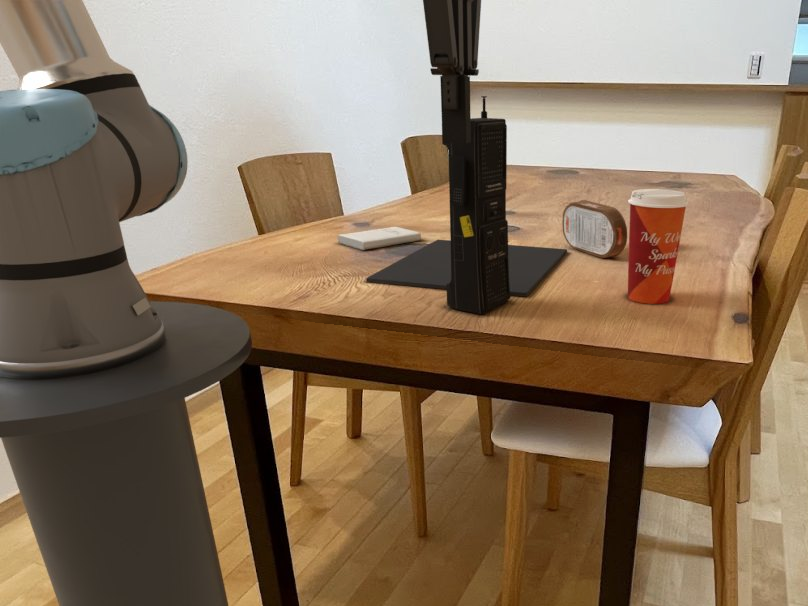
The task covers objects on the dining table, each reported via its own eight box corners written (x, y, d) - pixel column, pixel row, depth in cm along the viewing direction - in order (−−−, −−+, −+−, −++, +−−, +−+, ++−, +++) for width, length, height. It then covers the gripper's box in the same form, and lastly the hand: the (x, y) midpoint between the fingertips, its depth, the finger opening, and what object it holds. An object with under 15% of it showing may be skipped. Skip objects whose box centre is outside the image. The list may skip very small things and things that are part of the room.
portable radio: (480, 318, 81) (479, 97, 71) (440, 310, 84) (434, 96, 74) (512, 302, 87) (516, 97, 77) (474, 295, 90) (472, 95, 80)
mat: (366, 282, 96) (365, 278, 95) (437, 242, 120) (437, 239, 120) (526, 297, 90) (526, 292, 89) (567, 252, 114) (567, 249, 114)
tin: (626, 261, 109) (631, 209, 106) (612, 263, 108) (616, 210, 104) (572, 243, 121) (574, 196, 117) (558, 245, 119) (560, 197, 116)
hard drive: (338, 243, 119) (394, 234, 127) (363, 251, 113) (421, 240, 121) (337, 234, 118) (394, 225, 126) (363, 241, 113) (420, 231, 121)
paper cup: (639, 308, 86) (650, 198, 80) (609, 292, 92) (617, 189, 86) (689, 302, 88) (703, 195, 83) (657, 287, 95) (668, 187, 89)
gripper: (464, -153, 55) (469, 148, 64) (508, -111, 66) (507, 139, 76) (382, -146, 57) (398, 146, 66) (439, -106, 68) (446, 137, 78)
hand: (456, 142), depth 71 cm, fingers closed
